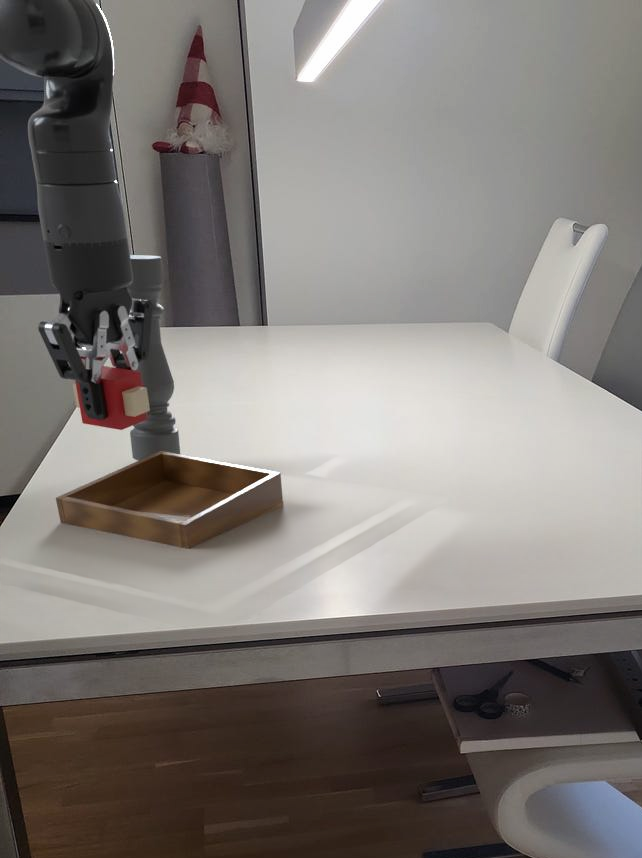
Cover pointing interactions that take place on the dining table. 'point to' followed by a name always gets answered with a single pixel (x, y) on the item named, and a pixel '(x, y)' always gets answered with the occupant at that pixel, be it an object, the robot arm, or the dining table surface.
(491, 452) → the dining table surface
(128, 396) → the red and beige block
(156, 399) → the candle holder
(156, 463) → the wooden tray
